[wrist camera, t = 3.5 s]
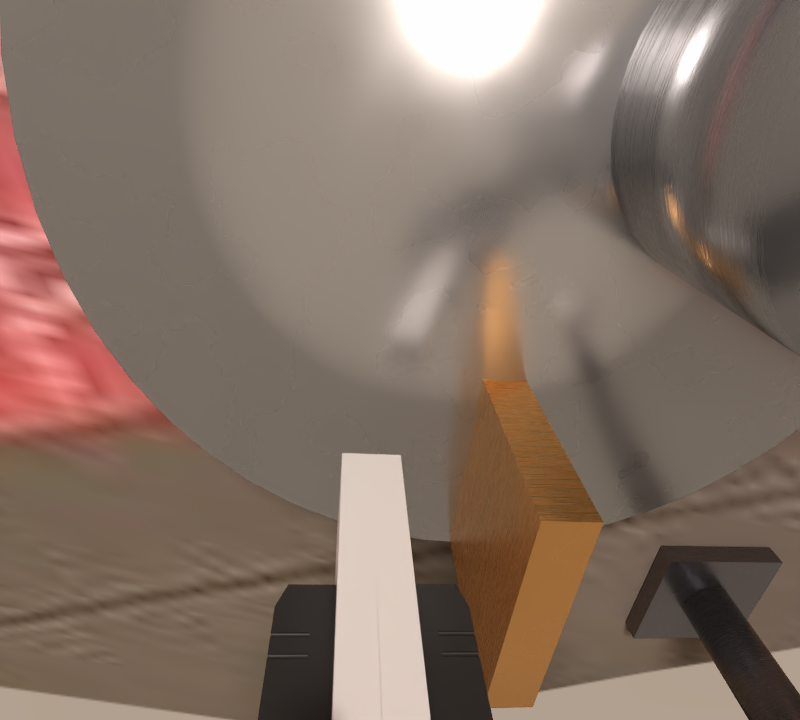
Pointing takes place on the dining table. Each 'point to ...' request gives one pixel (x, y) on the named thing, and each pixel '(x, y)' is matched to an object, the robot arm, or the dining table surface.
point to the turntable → (392, 269)
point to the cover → (717, 153)
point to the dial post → (718, 619)
